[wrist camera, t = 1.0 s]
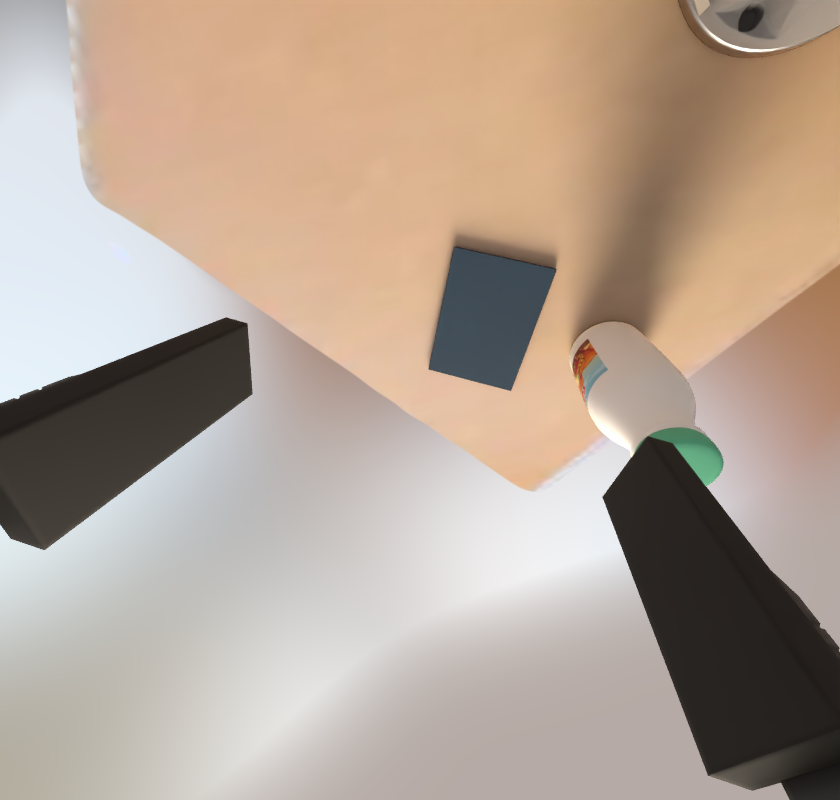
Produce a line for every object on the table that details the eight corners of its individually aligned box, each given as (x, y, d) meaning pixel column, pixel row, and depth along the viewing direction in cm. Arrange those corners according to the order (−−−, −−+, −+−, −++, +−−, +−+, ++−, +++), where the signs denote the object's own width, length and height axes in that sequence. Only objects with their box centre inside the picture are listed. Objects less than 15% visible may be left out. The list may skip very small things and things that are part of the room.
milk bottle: (601, 306, 35) (684, 397, 19) (660, 341, 36) (794, 461, 19) (554, 362, 40) (587, 477, 23) (608, 393, 40) (680, 528, 23)
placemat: (454, 246, 36) (454, 246, 35) (556, 268, 35) (556, 269, 34) (429, 367, 44) (428, 369, 43) (510, 388, 43) (510, 391, 42)
